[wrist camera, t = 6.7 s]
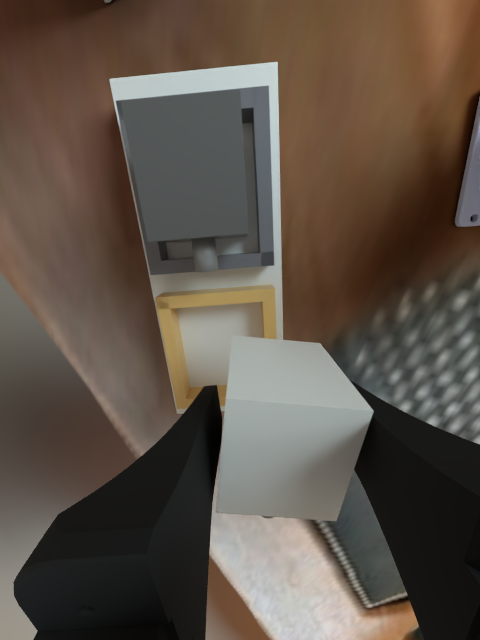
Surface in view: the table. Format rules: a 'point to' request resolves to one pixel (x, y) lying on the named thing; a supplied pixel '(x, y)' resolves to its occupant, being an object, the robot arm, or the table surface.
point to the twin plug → (190, 169)
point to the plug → (288, 431)
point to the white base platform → (232, 253)
